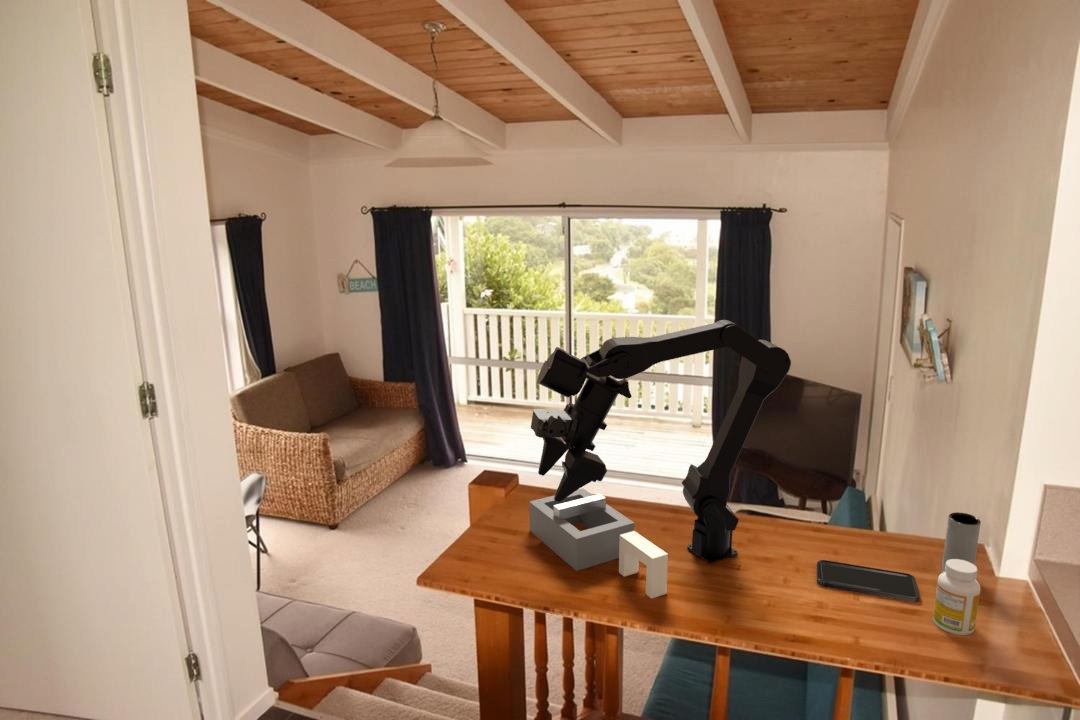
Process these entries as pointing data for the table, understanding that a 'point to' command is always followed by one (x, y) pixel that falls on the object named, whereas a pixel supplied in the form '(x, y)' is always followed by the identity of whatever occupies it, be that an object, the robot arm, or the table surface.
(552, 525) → the frame
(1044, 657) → the table surface
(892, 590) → the phone
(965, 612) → the supplement bottle
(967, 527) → the grey hollow cylinder
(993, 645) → the table surface
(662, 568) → the cream block
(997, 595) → the table surface
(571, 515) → the cross bar
